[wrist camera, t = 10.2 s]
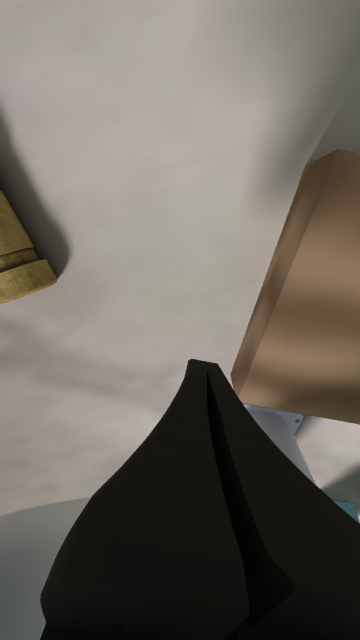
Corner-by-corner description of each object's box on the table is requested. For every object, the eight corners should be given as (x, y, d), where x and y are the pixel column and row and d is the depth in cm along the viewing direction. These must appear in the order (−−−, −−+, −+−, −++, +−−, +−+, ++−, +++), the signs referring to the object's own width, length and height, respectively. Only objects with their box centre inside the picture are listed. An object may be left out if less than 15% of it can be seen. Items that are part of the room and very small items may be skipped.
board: (343, 395, 22) (368, 425, 19) (230, 374, 22) (236, 401, 19) (477, 200, 15) (558, 195, 11) (305, 165, 14) (338, 149, 11)
